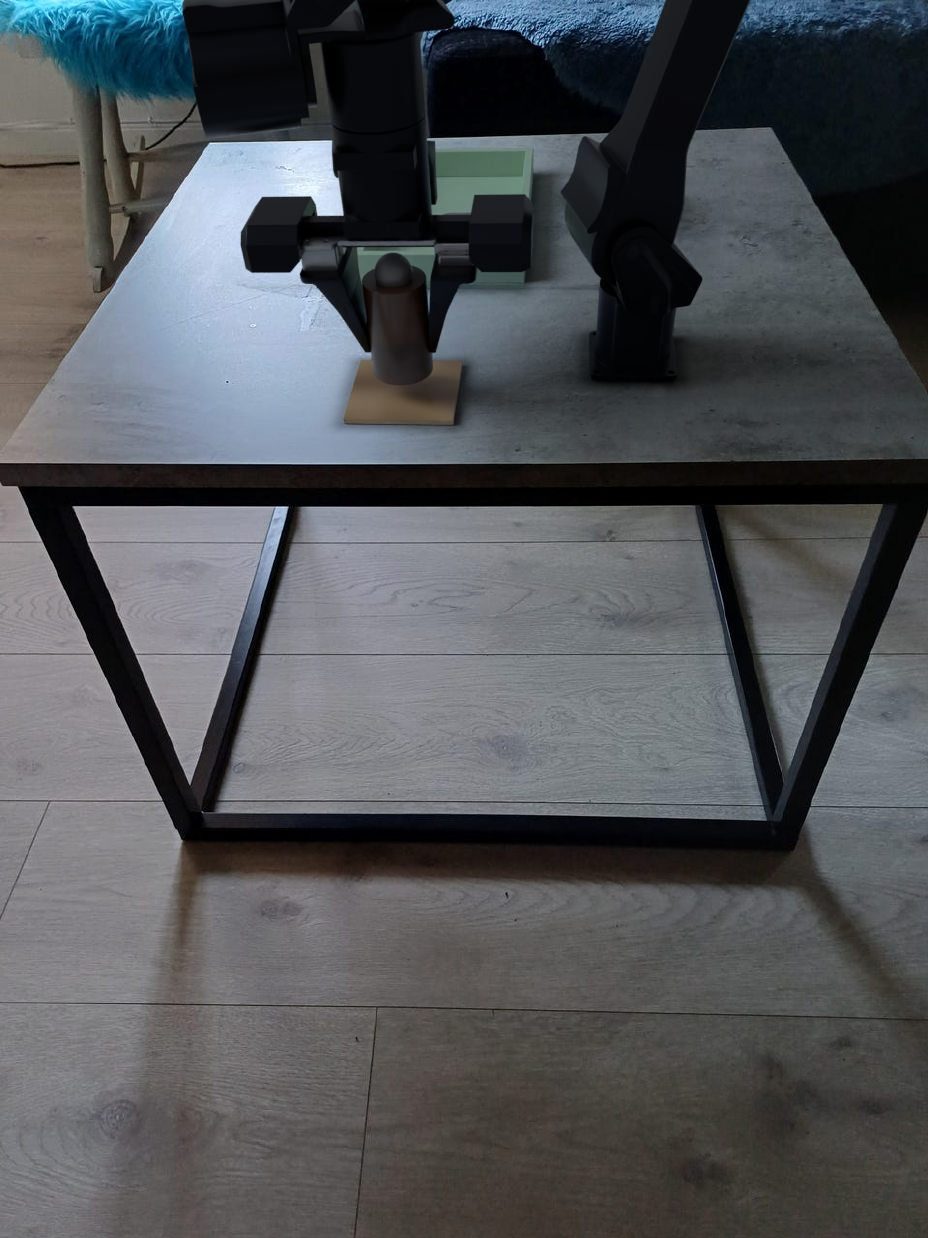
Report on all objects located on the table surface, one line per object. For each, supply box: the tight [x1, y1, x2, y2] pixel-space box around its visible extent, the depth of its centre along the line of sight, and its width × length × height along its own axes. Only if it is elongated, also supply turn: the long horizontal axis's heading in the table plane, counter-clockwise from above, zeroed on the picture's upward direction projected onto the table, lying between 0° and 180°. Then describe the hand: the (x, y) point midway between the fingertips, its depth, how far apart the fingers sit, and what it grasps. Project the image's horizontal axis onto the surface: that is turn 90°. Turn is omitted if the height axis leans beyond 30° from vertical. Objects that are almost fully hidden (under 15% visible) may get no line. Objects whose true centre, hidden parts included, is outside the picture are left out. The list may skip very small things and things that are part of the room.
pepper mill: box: [362, 252, 434, 386], centre depth 66 cm, size 4×4×9 cm
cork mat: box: [342, 359, 464, 426], centre depth 70 cm, size 8×8×1 cm
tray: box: [357, 147, 535, 290], centre depth 88 cm, size 24×15×3 cm, turn 175°
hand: (401, 349), depth 68 cm, fingers closed on pepper mill, 4 cm apart
